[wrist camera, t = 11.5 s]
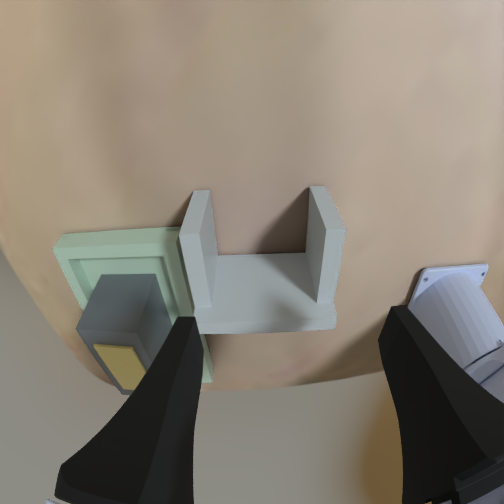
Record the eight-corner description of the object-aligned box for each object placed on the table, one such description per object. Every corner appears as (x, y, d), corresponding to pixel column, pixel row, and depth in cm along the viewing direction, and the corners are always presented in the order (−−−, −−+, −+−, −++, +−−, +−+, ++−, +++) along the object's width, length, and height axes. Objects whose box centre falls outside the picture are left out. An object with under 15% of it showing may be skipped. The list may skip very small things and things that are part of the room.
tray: (213, 367, 30) (212, 382, 29) (128, 363, 30) (124, 377, 29) (181, 226, 20) (175, 242, 18) (63, 234, 20) (52, 248, 19)
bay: (318, 263, 22) (334, 328, 17) (205, 267, 22) (195, 333, 17) (325, 186, 18) (352, 243, 13) (194, 190, 18) (173, 249, 14)
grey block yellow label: (180, 347, 27) (171, 401, 23) (134, 345, 27) (121, 396, 23) (155, 273, 22) (136, 335, 17) (101, 274, 22) (74, 331, 17)
